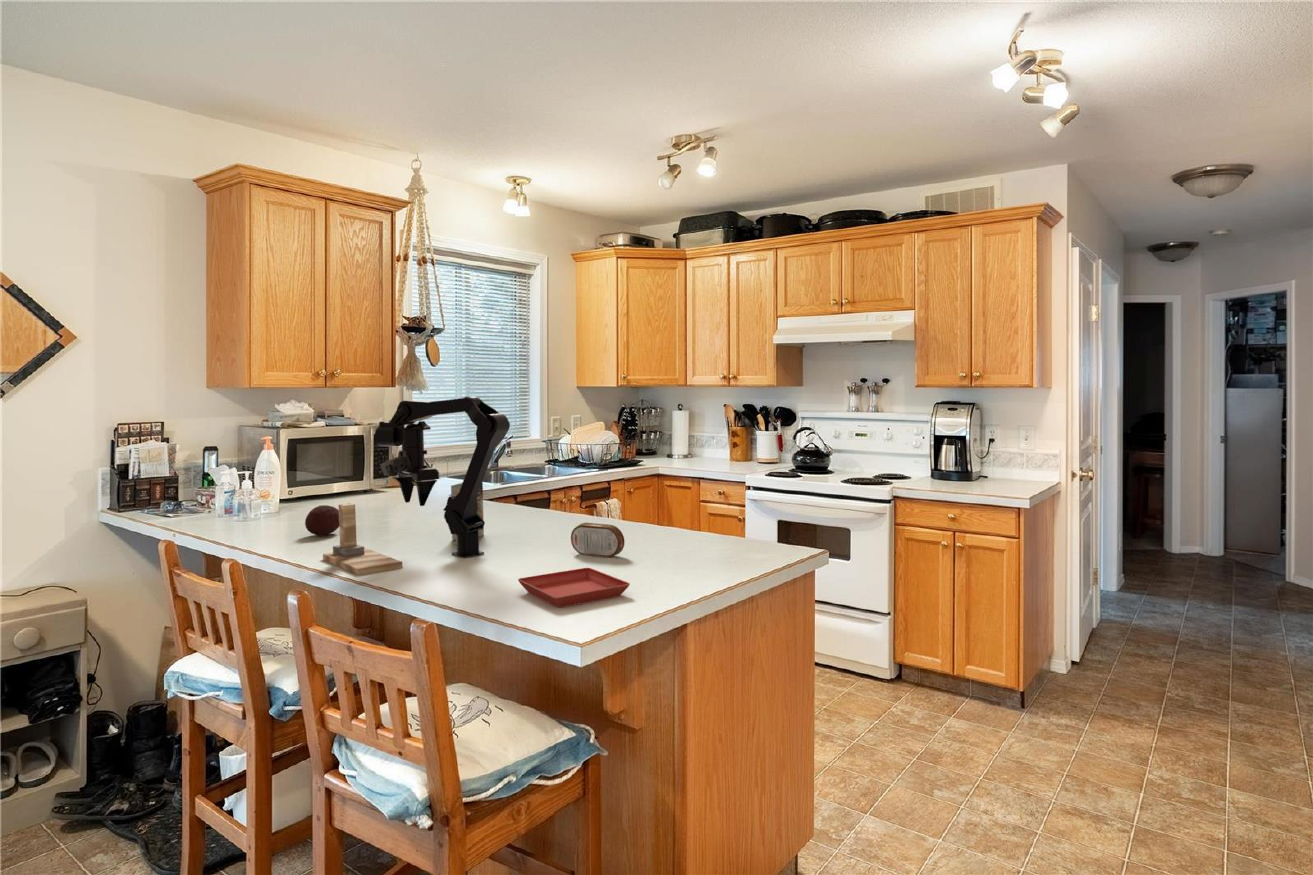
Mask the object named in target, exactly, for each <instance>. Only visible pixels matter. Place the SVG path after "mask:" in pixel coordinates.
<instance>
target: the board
mask: <svg viewBox="0 0 1313 875" xmlns="http://www.w3.org/2000/svg"><path fill="white" fill-rule="evenodd" d="M323 559H324V560H323ZM322 560H323V561H325V560H326V562H328V563H330V564H332V563H333V564H332V565H334V564H335V566H337V567H339V568H342V569H343V570H345V571H348V572H350V573H352V574H355V575H356V576H361V575H368V574H372V573H373V574H375V573H379V572H386V571H390V570H396V569H402V568H403V561H401V560H399V559H396V558H393V557H390V556H388V555H385V554H382V553H380V552H377V551H375V550H372V549H369V548H367V547H364V554H363V555H357V556H352V557H342V556H339V555H335V554H333V551H332V552H325V553H322Z"/></svg>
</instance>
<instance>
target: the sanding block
mask: <svg viewBox="0 0 1313 875" xmlns="http://www.w3.org/2000/svg"><path fill="white" fill-rule="evenodd" d="M338 510H339V527H338V529H339V545H332V552H333V554H335V555H339V556H342V557H352V556H357V555H363V554H364V548H365V546H363V545H360V544H357V519H356V504H355V503H352V502H351V503H349V502H348V503H341V504H338Z"/></svg>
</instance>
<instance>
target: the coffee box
mask: <svg viewBox="0 0 1313 875" xmlns="http://www.w3.org/2000/svg"><path fill="white" fill-rule="evenodd" d="M462 483H463V482H460V483H457V484H453V485H450V492H451V494H450V496H454V495H457V494H458V493H459V491H460V488H461V486H462ZM483 484H484V482H483V481H482V484H481V487H480V489H479V492H478V495H477V503H478V508H477V514H478V515H479V516H480V517H481V518H482V519H483V521H484V522H485V520H484V492H483V491H484V488H483V486H484V485H483ZM478 534H479V538H480V537H482V536H484V534H485V527H484V528H483V529H482V530H478ZM451 540H453V541H456V534H451Z"/></svg>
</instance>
